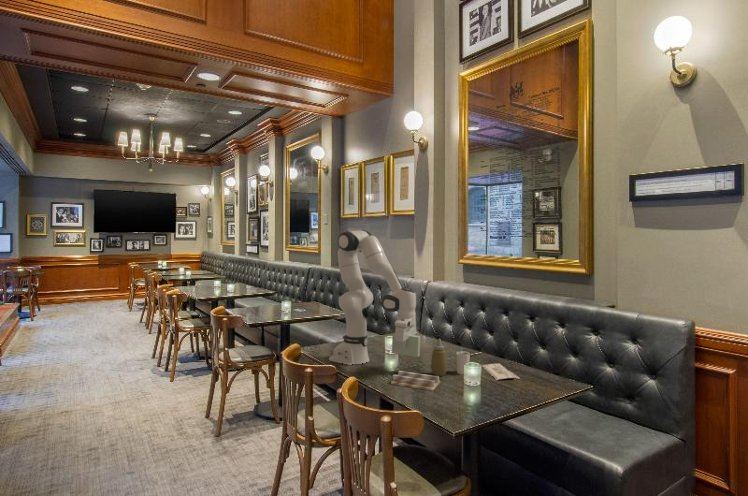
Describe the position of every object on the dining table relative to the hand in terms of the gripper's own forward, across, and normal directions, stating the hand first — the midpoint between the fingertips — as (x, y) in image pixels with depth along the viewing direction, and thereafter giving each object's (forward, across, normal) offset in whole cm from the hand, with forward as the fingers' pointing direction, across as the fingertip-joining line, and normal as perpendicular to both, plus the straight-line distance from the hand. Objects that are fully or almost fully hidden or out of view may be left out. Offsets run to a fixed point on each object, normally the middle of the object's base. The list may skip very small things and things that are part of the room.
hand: (405, 347), depth 224 cm
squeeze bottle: (+12, -3, +17) cm, 21 cm away
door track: (+12, +14, +11) cm, 22 cm away
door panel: (+4, 0, 0) cm, 4 cm away
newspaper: (+12, -19, +44) cm, 50 cm away
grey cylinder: (+12, -11, +27) cm, 31 cm away
